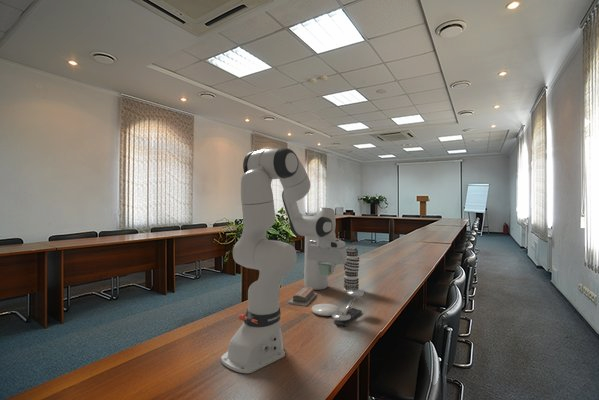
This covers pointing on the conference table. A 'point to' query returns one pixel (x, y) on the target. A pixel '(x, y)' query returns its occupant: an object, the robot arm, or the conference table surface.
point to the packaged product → (303, 296)
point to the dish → (325, 309)
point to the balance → (348, 310)
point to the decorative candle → (351, 269)
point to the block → (325, 269)
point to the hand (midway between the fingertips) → (326, 271)
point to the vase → (313, 271)
